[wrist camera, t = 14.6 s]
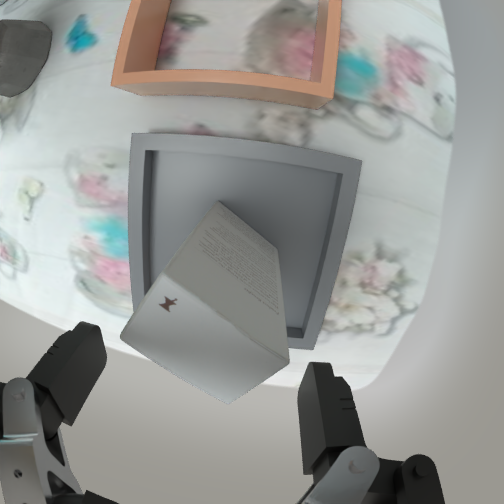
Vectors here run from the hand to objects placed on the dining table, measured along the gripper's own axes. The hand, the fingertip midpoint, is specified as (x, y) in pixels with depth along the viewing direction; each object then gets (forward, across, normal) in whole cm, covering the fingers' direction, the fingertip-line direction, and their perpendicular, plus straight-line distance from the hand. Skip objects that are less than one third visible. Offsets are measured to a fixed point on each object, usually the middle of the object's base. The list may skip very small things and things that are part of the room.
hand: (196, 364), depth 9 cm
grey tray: (+14, 0, 0) cm, 14 cm away
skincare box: (+13, 0, 0) cm, 13 cm away
